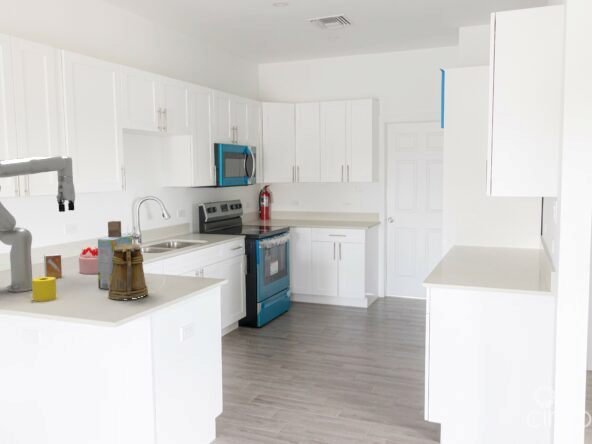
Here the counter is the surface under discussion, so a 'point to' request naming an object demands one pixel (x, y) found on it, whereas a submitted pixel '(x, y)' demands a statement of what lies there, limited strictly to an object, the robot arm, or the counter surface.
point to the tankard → (127, 273)
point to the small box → (53, 265)
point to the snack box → (108, 258)
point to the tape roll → (44, 288)
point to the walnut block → (114, 229)
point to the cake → (88, 261)
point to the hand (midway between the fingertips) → (66, 211)
